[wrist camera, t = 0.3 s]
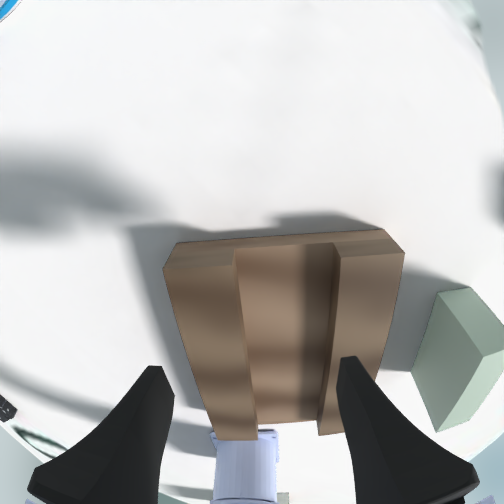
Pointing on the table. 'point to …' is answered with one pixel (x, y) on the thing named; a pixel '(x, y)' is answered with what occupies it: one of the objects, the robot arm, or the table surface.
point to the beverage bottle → (7, 7)
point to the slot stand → (281, 322)
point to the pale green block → (458, 357)
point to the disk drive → (6, 410)
